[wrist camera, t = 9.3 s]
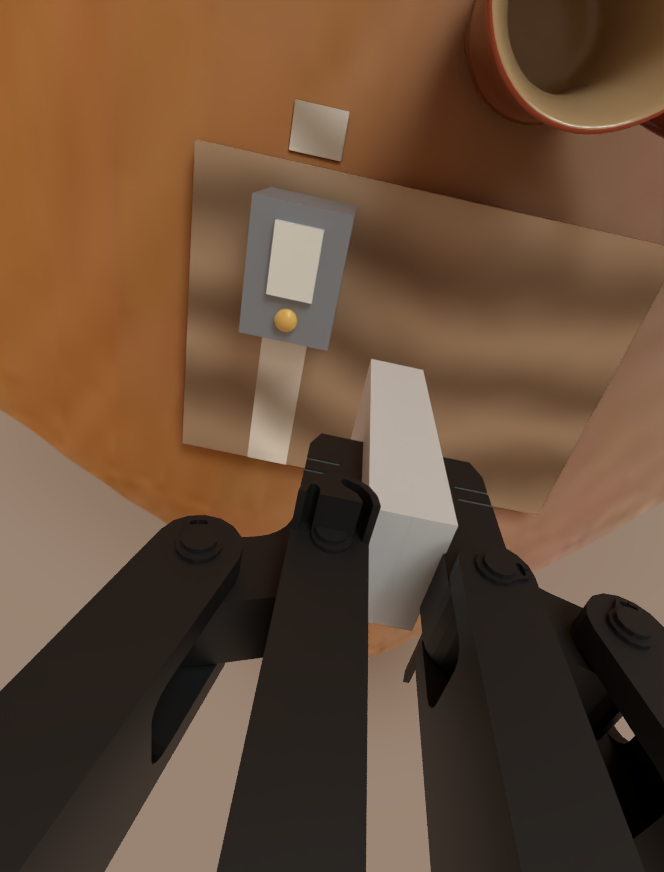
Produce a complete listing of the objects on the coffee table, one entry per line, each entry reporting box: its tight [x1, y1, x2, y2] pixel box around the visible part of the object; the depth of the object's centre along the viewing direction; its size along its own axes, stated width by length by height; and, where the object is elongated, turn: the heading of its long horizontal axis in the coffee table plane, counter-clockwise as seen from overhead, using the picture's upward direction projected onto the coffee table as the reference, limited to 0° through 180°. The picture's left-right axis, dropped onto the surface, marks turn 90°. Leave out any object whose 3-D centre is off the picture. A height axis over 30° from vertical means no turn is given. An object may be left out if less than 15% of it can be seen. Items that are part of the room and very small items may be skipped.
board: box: [182, 99, 664, 515], centre depth 32 cm, size 23×28×1 cm
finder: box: [239, 187, 357, 351], centre depth 27 cm, size 7×5×5 cm
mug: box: [465, 0, 664, 138], centre depth 20 cm, size 12×9×10 cm
